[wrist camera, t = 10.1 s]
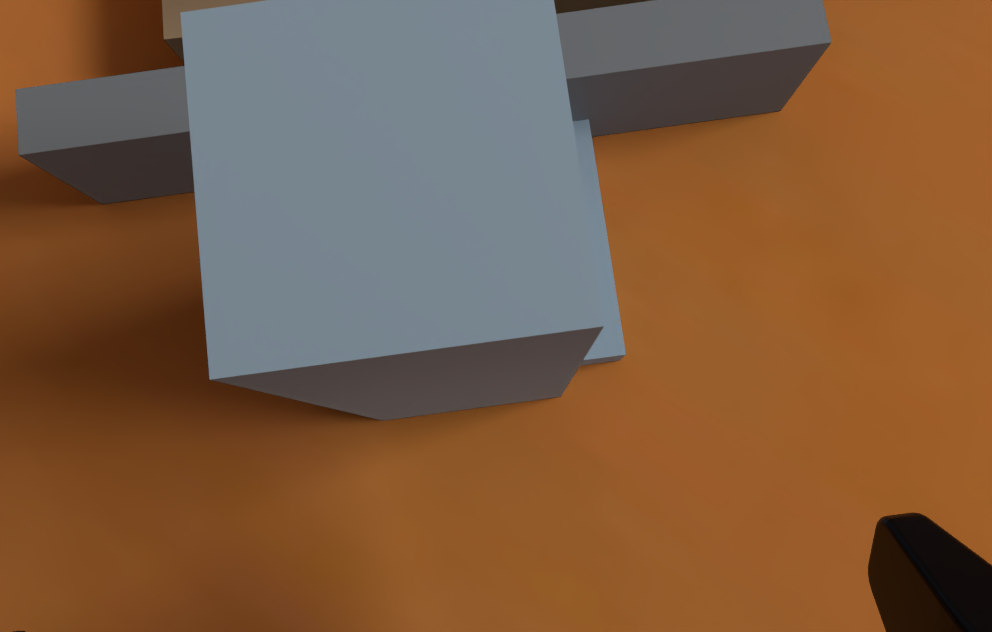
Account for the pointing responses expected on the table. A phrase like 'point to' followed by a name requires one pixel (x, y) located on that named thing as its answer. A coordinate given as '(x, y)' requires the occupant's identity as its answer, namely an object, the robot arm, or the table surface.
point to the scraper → (410, 177)
